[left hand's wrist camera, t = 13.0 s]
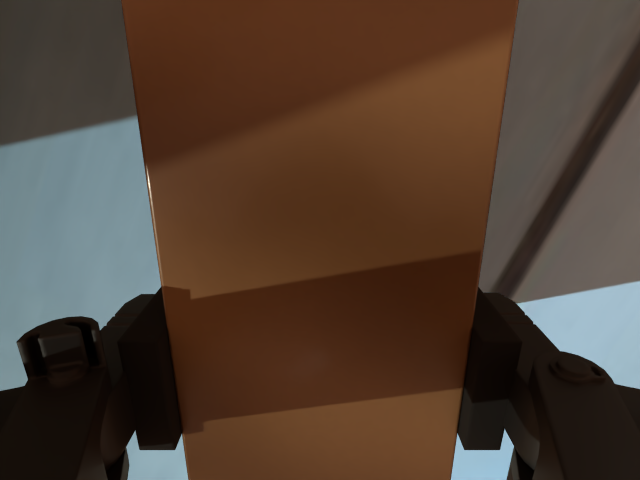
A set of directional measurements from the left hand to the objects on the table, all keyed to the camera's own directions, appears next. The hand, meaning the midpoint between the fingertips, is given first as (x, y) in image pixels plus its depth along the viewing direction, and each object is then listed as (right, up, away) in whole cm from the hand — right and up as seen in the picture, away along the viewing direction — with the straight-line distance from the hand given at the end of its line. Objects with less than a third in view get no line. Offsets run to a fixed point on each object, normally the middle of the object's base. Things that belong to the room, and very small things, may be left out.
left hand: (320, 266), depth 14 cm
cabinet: (0, +5, +2) cm, 6 cm away
